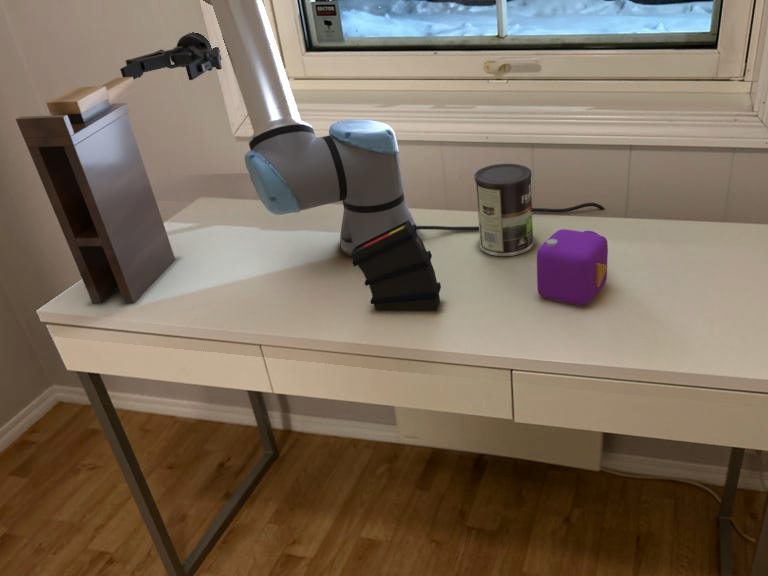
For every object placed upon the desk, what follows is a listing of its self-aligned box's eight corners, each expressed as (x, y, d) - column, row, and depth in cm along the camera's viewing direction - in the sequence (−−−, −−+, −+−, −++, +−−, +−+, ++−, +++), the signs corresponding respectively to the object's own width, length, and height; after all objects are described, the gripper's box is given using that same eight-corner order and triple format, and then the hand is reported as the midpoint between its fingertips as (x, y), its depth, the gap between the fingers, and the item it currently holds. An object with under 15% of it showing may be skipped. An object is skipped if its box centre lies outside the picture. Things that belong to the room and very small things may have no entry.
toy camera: (614, 272, 131) (616, 218, 125) (598, 311, 120) (600, 255, 115) (554, 266, 134) (553, 214, 129) (533, 304, 124) (532, 249, 118)
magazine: (455, 303, 122) (406, 227, 115) (389, 332, 127) (338, 261, 120) (459, 292, 125) (411, 217, 118) (394, 321, 130) (344, 250, 123)
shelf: (177, 257, 148) (121, 85, 130) (134, 303, 134) (63, 117, 115) (139, 257, 149) (78, 87, 131) (92, 303, 135) (15, 119, 116)
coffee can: (537, 233, 146) (535, 163, 138) (529, 257, 138) (526, 184, 130) (485, 232, 148) (480, 162, 140) (474, 256, 140) (468, 183, 132)
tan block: (142, 89, 139) (136, 69, 137) (85, 123, 122) (76, 101, 120) (115, 91, 139) (108, 71, 137) (54, 124, 123) (45, 102, 121)
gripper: (258, 64, 166) (221, 91, 149) (152, 69, 169) (104, 96, 152) (250, 28, 162) (211, 51, 144) (141, 34, 165) (90, 57, 147)
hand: (156, 74), depth 148 cm, fingers open, 13 cm apart
